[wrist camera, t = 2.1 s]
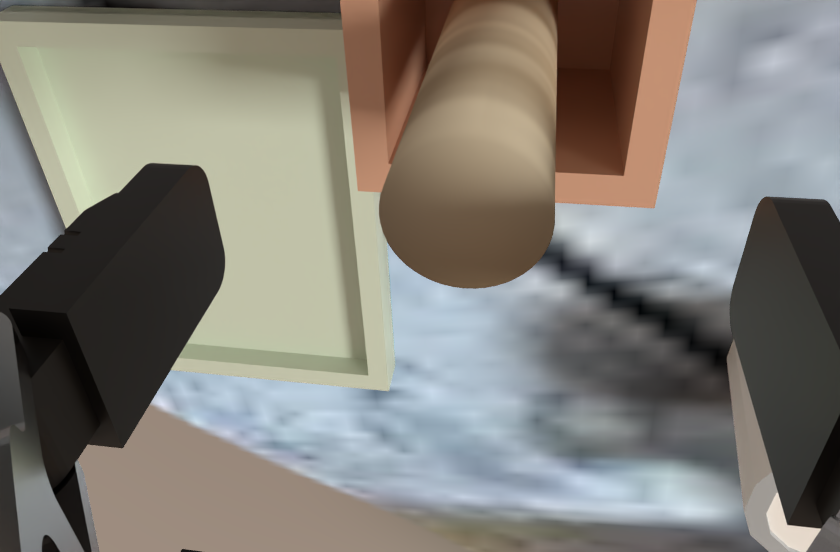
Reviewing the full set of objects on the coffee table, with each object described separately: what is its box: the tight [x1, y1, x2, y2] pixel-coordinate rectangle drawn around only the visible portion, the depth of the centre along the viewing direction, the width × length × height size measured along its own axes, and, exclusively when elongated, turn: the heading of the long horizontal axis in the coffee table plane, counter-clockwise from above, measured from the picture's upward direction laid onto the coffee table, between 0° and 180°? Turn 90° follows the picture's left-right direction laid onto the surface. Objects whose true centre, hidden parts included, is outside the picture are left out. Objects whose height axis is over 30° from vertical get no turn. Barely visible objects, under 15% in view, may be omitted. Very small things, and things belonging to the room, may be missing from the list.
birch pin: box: [379, 0, 558, 288], centre depth 15 cm, size 3×3×12 cm
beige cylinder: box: [727, 339, 821, 552], centre depth 25 cm, size 7×7×7 cm
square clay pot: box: [340, 0, 697, 208], centre depth 18 cm, size 7×7×7 cm
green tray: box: [0, 5, 395, 391], centre depth 27 cm, size 15×12×2 cm
